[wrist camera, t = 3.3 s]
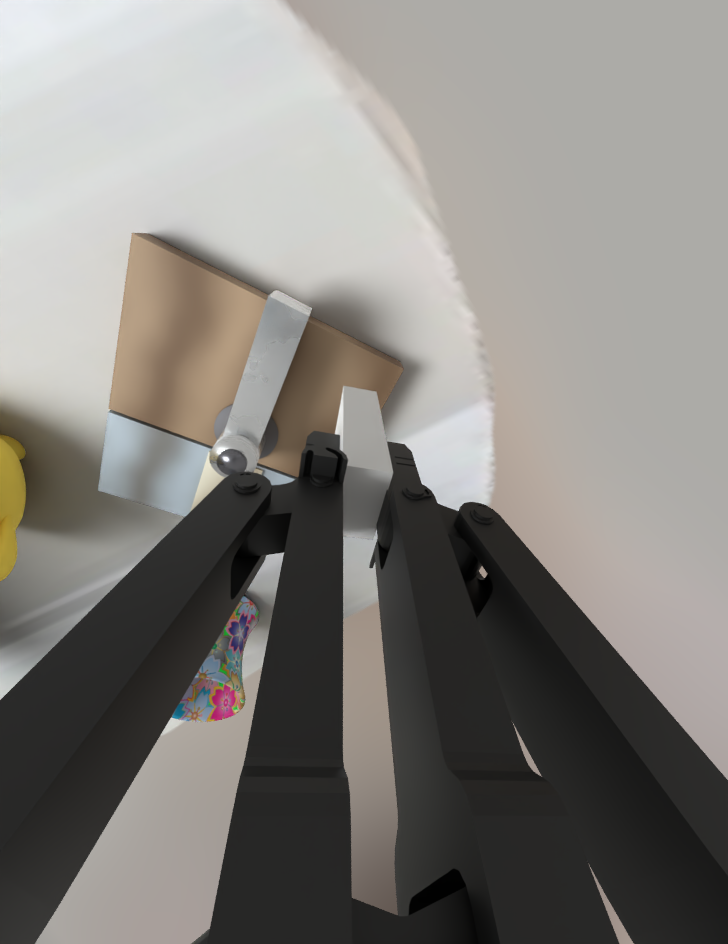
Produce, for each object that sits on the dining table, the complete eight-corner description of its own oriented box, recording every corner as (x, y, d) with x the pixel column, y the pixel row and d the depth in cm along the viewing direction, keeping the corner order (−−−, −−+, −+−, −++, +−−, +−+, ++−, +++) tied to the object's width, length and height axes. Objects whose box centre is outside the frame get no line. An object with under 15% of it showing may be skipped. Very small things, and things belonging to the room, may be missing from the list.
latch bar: (258, 458, 30) (247, 488, 26) (220, 443, 29) (202, 473, 25) (317, 310, 24) (313, 323, 20) (270, 286, 23) (257, 295, 19)
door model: (110, 477, 33) (80, 508, 29) (147, 233, 23) (109, 232, 19) (303, 538, 38) (299, 570, 35) (400, 361, 28) (409, 380, 25)
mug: (215, 571, 40) (179, 664, 32) (279, 606, 44) (263, 698, 36) (158, 619, 44) (112, 713, 36) (221, 647, 48) (195, 738, 40)
